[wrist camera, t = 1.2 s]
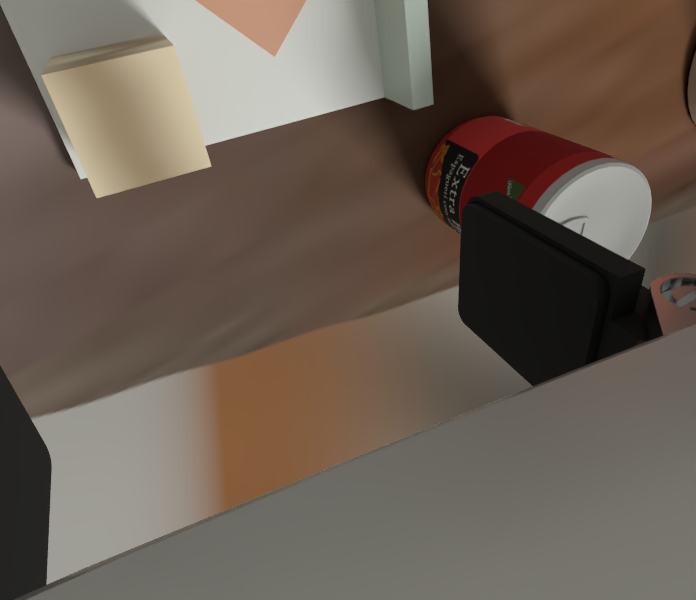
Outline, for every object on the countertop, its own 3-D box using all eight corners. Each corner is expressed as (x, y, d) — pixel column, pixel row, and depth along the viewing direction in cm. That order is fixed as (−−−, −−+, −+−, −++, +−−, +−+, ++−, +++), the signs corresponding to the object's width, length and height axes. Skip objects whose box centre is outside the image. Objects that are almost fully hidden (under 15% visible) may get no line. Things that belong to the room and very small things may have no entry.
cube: (162, 33, 25) (174, 45, 21) (195, 138, 28) (211, 166, 24) (50, 57, 24) (40, 75, 20) (96, 164, 27) (96, 198, 23)
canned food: (412, 136, 34) (523, 195, 25) (522, 95, 35) (662, 137, 26) (428, 241, 38) (527, 322, 29) (525, 200, 39) (646, 267, 31)
